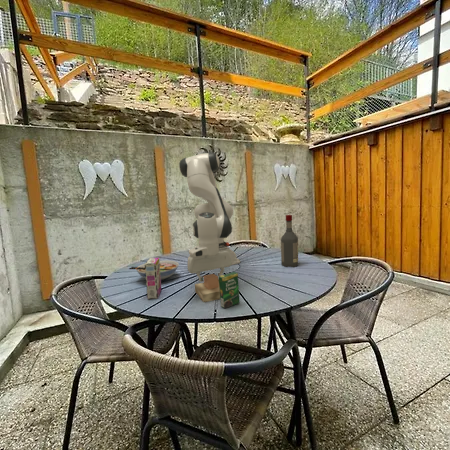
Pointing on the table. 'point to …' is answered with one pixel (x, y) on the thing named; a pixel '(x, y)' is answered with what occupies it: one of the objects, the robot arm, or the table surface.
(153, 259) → the candy bar box
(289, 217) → the liquor
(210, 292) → the maple block
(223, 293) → the coffee box
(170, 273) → the ramen bowl
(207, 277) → the terracotta cube
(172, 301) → the table surface
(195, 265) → the robot arm
